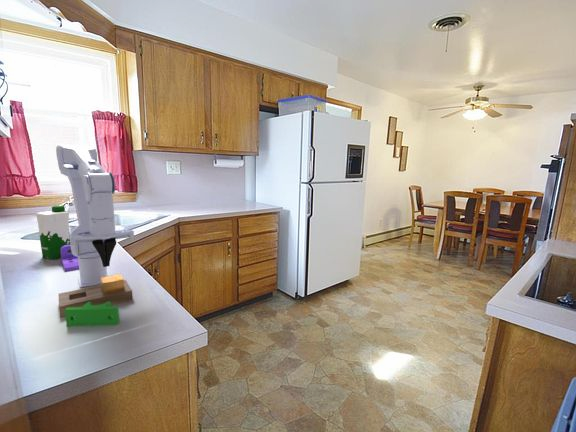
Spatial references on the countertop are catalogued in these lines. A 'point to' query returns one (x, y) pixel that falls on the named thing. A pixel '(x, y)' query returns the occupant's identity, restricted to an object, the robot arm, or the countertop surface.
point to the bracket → (69, 259)
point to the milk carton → (53, 231)
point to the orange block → (112, 283)
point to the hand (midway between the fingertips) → (106, 265)
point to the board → (92, 297)
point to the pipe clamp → (92, 315)
